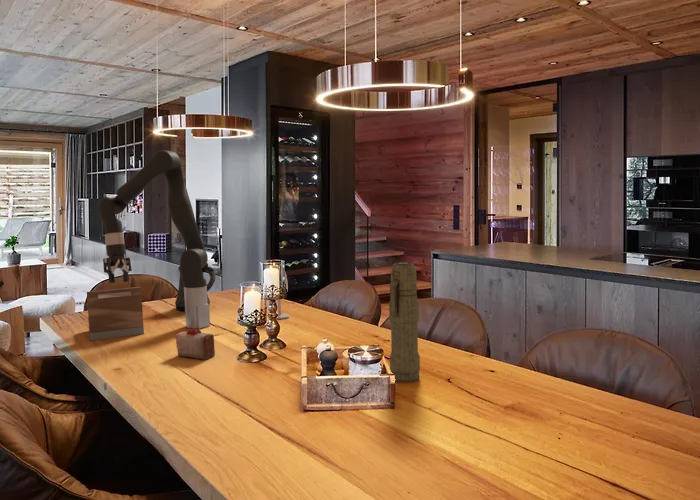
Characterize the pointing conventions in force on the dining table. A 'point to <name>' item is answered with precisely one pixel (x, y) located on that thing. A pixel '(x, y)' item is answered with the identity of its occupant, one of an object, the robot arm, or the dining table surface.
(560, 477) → the dining table surface
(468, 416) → the dining table surface
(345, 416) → the dining table surface
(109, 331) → the tray
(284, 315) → the wineglass
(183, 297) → the beer stein
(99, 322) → the panel
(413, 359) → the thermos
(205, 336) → the food item
